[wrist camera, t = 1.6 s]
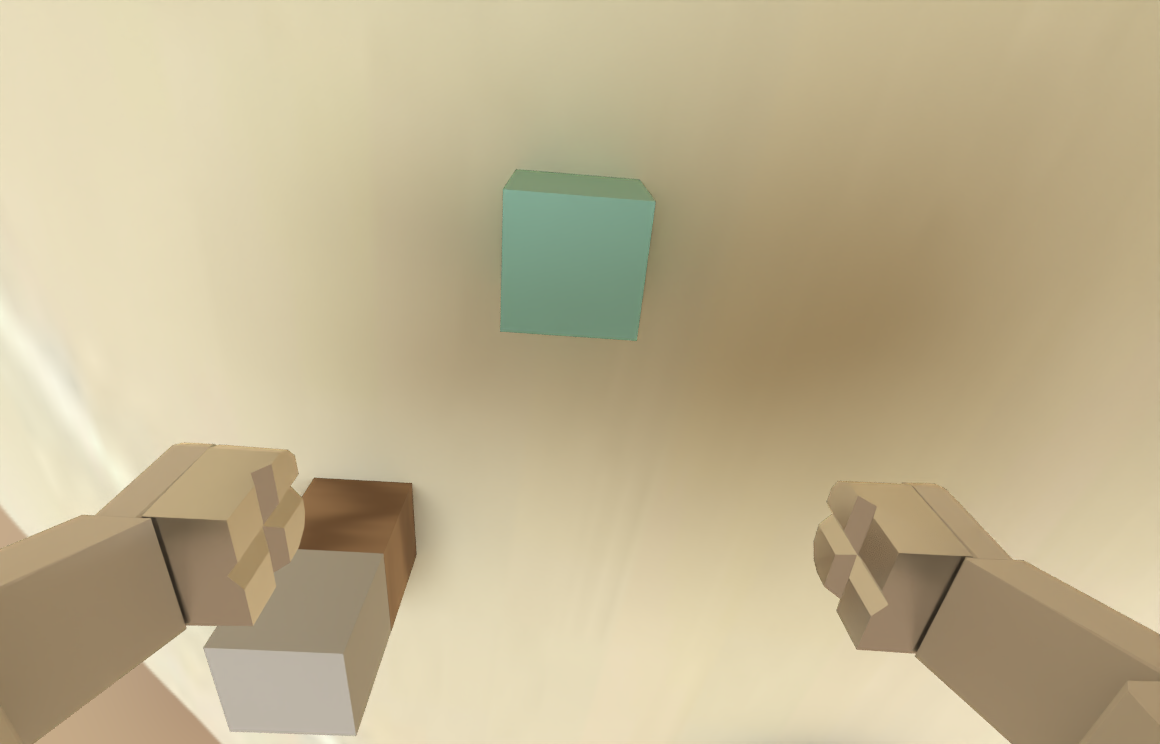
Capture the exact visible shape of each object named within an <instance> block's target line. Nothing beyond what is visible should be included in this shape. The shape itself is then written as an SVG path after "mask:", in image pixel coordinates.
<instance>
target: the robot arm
mask: <svg viewBox="0 0 1160 744" xmlns="http://www.w3.org/2000/svg"><path fill="white" fill-rule="evenodd" d="M298 474H299V473H298V468H297V463H296V459H295V455H294V454H293V453H291V452H290V451H289V450H285V449H272V448H259V447H246V446H233V445H215V444H203V443H185V442H184V443H180V444H175V445H172V446H171V447H170V448H169V449H168V450H167V451H166V452H165V453H164V454H162V455H161V456H160V457H159V458H158V459H157V460H156V461H155V462H154V463H152V464H151V465H150V466H149V467H148V468H147V469H146V470H145V471H144V472H142V473H141V474H140V475H139V476H138V477H137V478H136V479H135V480H134V481H132V482H131V483H130V484H129V485H128V486H127V487H126V488H125V489H124V490H122V491H121V492H120V493H119V494H118V495H117V496H116V497H115V498H114V499H112V500H111V501H110V502H109V503H108V504H107V505H106V506H105V507H104V508H102V509H101V510H100V511H99V512H98V513H97V514H96V515H81V516H78V517H76V518H73V519H71V520H69V521H66V522H64V523H61V524H59V525H57V526H54V527H52V528H49V529H47V530H44V531H42V532H40V533H37V534H35V535H32V536H30V537H28V538H25V539H23V540H20V541H18V542H15V543H13V544H11V545H8V546H6V547H3V548H1V549H0V744H34V743H35V742H36V741H38V740H39V739H40V738H42V737H43V736H44V735H46V734H47V733H48V732H50V731H51V730H52V729H54V728H55V727H56V726H58V725H59V724H60V723H62V722H63V721H64V720H66V719H67V718H68V717H70V716H71V715H72V714H74V713H75V712H76V711H78V710H79V709H80V708H82V707H83V706H84V705H86V704H87V703H88V702H90V701H91V700H92V699H94V698H95V697H96V696H98V695H99V694H100V693H102V692H103V691H104V690H106V689H107V688H108V687H110V686H111V685H112V684H114V683H115V682H116V681H118V680H119V679H120V678H122V677H123V676H124V675H125V674H127V673H128V672H130V671H131V670H132V669H134V668H135V667H136V666H138V665H139V664H140V663H142V662H143V661H144V660H146V659H147V658H148V657H150V656H151V655H152V654H154V653H155V652H156V651H158V650H159V649H160V648H162V647H163V646H164V645H166V644H167V643H168V642H170V641H171V640H172V639H174V638H175V637H176V636H178V635H179V634H180V633H182V632H183V631H184V630H186V625H199V626H254V624H255V622H256V620H257V619H258V617H259V615H260V614H261V612H262V610H263V609H264V607H265V605H266V603H267V602H268V600H269V598H270V597H271V595H272V593H273V592H274V590H275V588H276V583H275V578H274V572H276V571H278V570H279V569H281V568H282V567H284V566H285V565H287V564H289V563H290V562H291V560H292V559H293V557H294V555H295V553H296V551H297V550H298V548H299V545H300V541H301V538H302V534H303V530H304V524H305V509H304V502H303V498H302V497H301V496H300V495H299V494H298V493H297V492H296V491H295V490H294V489H293V488H292V487H291V485H292V483H293V482H294V480H295V479H296V477H297V476H298ZM827 504H828V506H829V508H830V510H831V512H832V514H831V515H830V516H829V517H827V518H826V519H825V520H824V521H822V522H821V523H820V524H819V525H818V528H817V532H816V535H815V538H814V562H815V566H816V570H817V573H818V575H819V577H820V579H821V581H822V583H823V585H824V587H826V588H827V589H828V590H830V591H831V592H832V593H833V594H835V595H836V596H837V597H839V598H840V601H839V604H838V607H837V610H836V611H837V613H838V615H839V617H840V618H841V620H842V622H843V624H844V626H845V628H846V630H847V632H848V634H849V636H850V638H851V640H852V642H853V643H854V645H855V647H856V649H857V650H871V651H886V652H900V653H915V654H916V655H915V657H916V658H917V659H918V660H919V661H921V662H922V663H923V664H924V665H925V666H926V667H927V668H928V669H929V670H931V671H932V672H933V673H934V674H935V675H936V676H937V677H938V678H939V679H941V680H942V681H943V682H944V683H945V684H946V685H947V686H948V687H949V688H950V689H952V690H953V691H954V692H955V693H956V694H957V695H958V696H959V697H960V698H962V699H963V700H964V701H965V702H966V703H967V704H968V705H969V706H970V707H972V708H973V709H974V710H975V711H976V712H977V713H978V714H979V715H980V716H981V717H983V718H984V719H985V720H986V721H987V722H988V723H989V724H990V725H991V726H993V727H994V728H995V729H996V730H997V731H998V732H999V733H1000V734H1001V735H1003V736H1004V737H1005V738H1006V739H1007V740H1008V741H1009V742H1010V743H1011V744H1160V634H1158V633H1156V632H1155V631H1153V630H1151V629H1149V628H1147V627H1145V626H1143V625H1142V624H1140V623H1138V622H1136V621H1134V620H1132V619H1131V618H1129V617H1127V616H1125V615H1123V614H1121V613H1120V612H1118V611H1116V610H1114V609H1112V608H1110V607H1108V606H1107V605H1105V604H1103V603H1101V602H1099V601H1097V600H1096V599H1094V598H1092V597H1090V596H1088V595H1086V594H1085V593H1083V592H1081V591H1079V590H1077V589H1075V588H1074V587H1072V586H1070V585H1068V584H1066V583H1064V582H1062V581H1061V580H1059V579H1057V578H1055V577H1053V576H1051V575H1050V574H1048V573H1046V572H1044V571H1042V570H1040V569H1039V568H1037V567H1035V566H1033V565H1031V564H1029V563H1027V562H1026V561H1024V560H1013V559H1012V558H1011V557H1010V556H1009V555H1008V554H1007V553H1006V552H1005V551H1004V550H1003V549H1002V548H1001V547H1000V546H999V545H998V543H997V542H996V541H995V540H994V539H993V538H992V537H991V536H990V535H989V534H988V533H987V532H986V531H985V530H984V529H983V528H982V527H981V526H980V524H979V523H978V522H977V521H976V520H975V519H974V518H973V517H972V516H971V515H970V514H969V513H968V512H967V511H966V510H965V509H964V508H963V506H962V505H961V504H960V503H959V502H958V501H957V500H956V499H955V498H954V497H953V496H952V495H951V494H950V493H949V492H948V491H947V490H946V489H945V488H943V487H941V486H939V485H937V484H930V483H902V484H897V483H875V482H853V481H837V483H836V484H835V485H834V486H833V487H832V488H831V491H830V494H829V496H828V499H827Z"/></svg>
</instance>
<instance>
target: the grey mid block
mask: <svg viewBox="0 0 1160 744" xmlns="http://www.w3.org/2000/svg"><path fill="white" fill-rule="evenodd" d="M274 578H275V583H276V588H275V590H274V592H273V593H272V595H271V597H270V598H269V600H268V602H267V603H266V605H265V607H264V609H263V610H262V612H261V614H260V615H259V617H258V619H257V620H256V622H255V624H254V626H217V627H216V629H215V630H214V632H213V633H212V635H211V636H210V638H209V640H208V641H207V643H206V644H205V646H204V647H203V649H204V652H205V655H206V658H207V662H208V665H209V668H210V671H211V674H212V677H213V680H214V683H215V686H216V690H217V693H218V696H219V699H220V702H221V705H222V708H223V711H224V714H225V718H226V721H227V724H228V727H229V730H230V731H231V732H258V733H286V734H313V735H340V736H356V735H357V732H358V729H359V726H360V723H361V720H362V717H363V714H364V711H365V708H366V705H367V702H368V699H369V696H370V693H371V690H372V687H373V684H374V681H375V678H376V675H377V672H378V669H379V666H380V663H381V660H382V657H383V654H384V651H385V648H386V645H387V642H388V639H389V636H390V633H391V624H390V614H389V604H388V594H387V584H386V574H385V564H384V554H382V553H362V552H343V551H324V550H304V549H298V550H297V551H296V553H295V555H294V557H293V559H292V560H291V562H290V563H289V564H287V565H285V566H284V567H282V568H281V569H279V570H278V571H276V572H274Z"/></svg>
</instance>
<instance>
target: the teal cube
mask: <svg viewBox="0 0 1160 744" xmlns="http://www.w3.org/2000/svg"><path fill="white" fill-rule="evenodd" d="M655 203H656V201H655V200H654V199H653V197H652V196H651V194H650V193H649V192H648V190H647V189H646V188H645V186H644V185H643V184H642V182H641V181H640V180H639V179H626V178H614V177H602V176H590V175H578V174H566V173H554V172H542V171H530V170H518V169H516V170H515V172H514V173H513V175H512V176H511V178H510V179H509V181H508V183H507V184H506V186H505V187H504V189H503V221H502V272H501V322H500V332H515V333H530V334H544V335H559V336H573V337H588V338H602V339H617V340H632V341H637V335H638V328H639V321H640V313H641V306H642V299H643V291H644V284H645V277H646V269H647V262H648V255H649V247H650V240H651V232H652V225H653V218H654V210H655Z"/></svg>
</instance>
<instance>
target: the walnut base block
mask: <svg viewBox="0 0 1160 744" xmlns="http://www.w3.org/2000/svg"><path fill="white" fill-rule="evenodd" d="M302 498H303V502H304V509H305V524H304V530H303V534H302V538H301V541H300V545H299V548H298V549H304V550H324V551H343V552H362V553H382V554H384V564H385V574H386V584H387V594H388V604H389V614H390V624H391V631H392V628H393V625H394V622H395V618H396V615H397V612H398V609H399V606H400V603H401V600H402V597H403V594H404V591H405V588H406V585H407V582H408V579H409V576H410V573H411V570H412V567H413V564H414V561H415V558H416V555H417V554H416V539H415V524H414V509H413V494H412V483H399V482H381V481H362V480H344V479H325V478H314V479H313V481H312V482H311V484H310V485H309V487H308V488H307V490H306V491H305V493H304V495H303V496H302Z"/></svg>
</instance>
